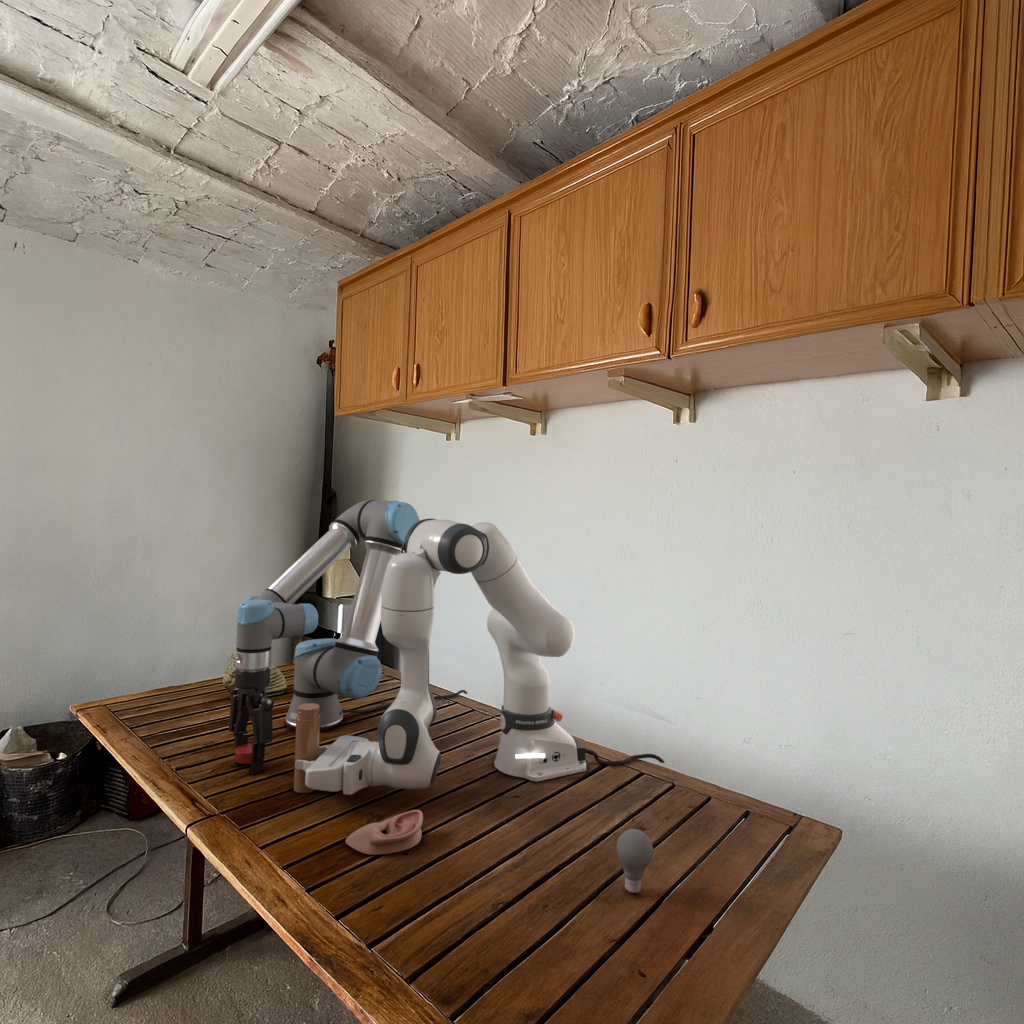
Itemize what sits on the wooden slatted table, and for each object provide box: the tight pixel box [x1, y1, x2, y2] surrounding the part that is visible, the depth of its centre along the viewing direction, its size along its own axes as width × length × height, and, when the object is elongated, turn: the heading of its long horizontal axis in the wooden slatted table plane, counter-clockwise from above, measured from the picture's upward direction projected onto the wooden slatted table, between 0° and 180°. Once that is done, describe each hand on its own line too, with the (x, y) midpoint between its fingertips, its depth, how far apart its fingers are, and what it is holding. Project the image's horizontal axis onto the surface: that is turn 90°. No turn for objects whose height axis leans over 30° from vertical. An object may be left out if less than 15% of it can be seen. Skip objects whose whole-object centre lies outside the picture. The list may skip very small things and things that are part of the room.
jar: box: [293, 703, 321, 794], centre depth 137 cm, size 5×5×18 cm
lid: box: [234, 743, 253, 765], centre depth 146 cm, size 6×6×2 cm
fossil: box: [222, 649, 288, 699], centre depth 198 cm, size 9×18×15 cm, turn 132°
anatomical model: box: [344, 809, 424, 856], centre depth 118 cm, size 13×4×12 cm
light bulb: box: [615, 828, 654, 894], centre depth 106 cm, size 6×6×10 cm
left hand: (248, 767), depth 146 cm, fingers closed on lid, 6 cm apart
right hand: (302, 757), depth 137 cm, fingers closed on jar, 5 cm apart
